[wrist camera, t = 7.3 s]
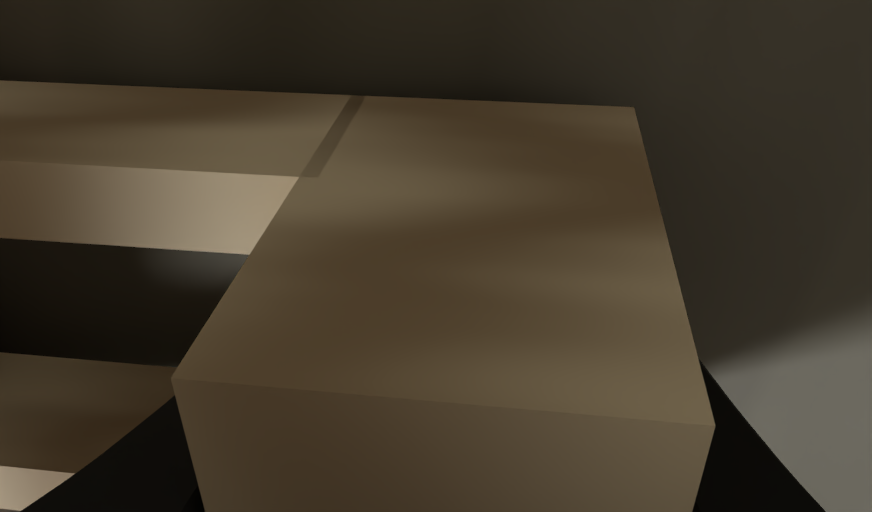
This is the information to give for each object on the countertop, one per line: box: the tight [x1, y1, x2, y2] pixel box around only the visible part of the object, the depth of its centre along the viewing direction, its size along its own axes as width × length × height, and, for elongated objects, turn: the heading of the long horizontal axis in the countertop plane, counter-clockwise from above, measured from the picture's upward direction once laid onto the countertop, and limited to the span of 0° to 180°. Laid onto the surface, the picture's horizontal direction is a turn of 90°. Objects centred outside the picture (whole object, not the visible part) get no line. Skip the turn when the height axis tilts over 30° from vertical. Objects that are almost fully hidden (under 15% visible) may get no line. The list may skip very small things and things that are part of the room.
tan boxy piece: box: [0, 81, 715, 512], centre depth 9 cm, size 12×9×6 cm
